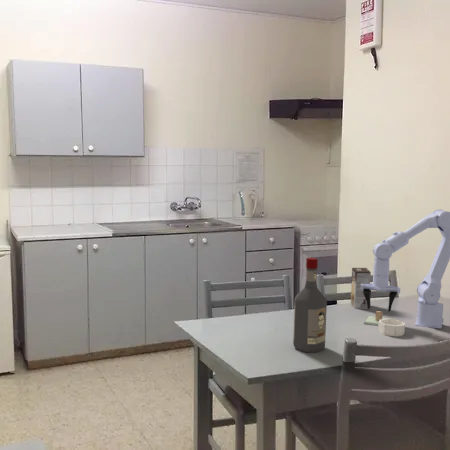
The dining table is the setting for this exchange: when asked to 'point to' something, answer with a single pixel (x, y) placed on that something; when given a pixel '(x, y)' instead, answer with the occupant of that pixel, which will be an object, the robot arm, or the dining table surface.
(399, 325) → the bowl
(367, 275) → the coffee box
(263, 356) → the dining table surface
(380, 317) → the lid
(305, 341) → the liquor
